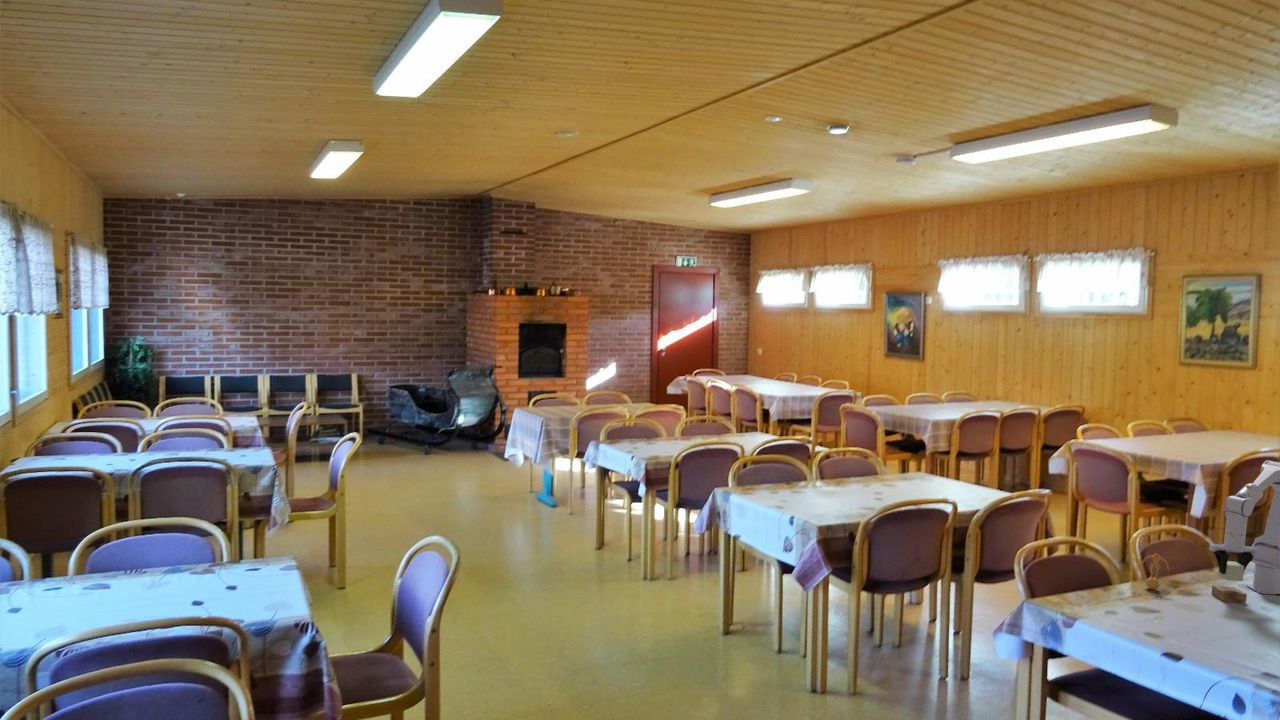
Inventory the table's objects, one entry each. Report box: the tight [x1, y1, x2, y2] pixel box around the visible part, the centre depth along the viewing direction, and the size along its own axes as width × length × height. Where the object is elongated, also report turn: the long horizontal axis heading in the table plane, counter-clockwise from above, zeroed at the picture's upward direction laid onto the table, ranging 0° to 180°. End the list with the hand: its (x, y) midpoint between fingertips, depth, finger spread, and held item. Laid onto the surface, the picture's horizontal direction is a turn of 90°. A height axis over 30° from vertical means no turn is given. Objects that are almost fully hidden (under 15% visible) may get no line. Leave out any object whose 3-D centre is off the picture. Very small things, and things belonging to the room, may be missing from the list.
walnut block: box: [1211, 585, 1248, 603], centre depth 300 cm, size 7×7×3 cm
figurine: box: [1140, 552, 1170, 591], centre depth 307 cm, size 8×6×12 cm
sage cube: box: [1217, 560, 1245, 582], centre depth 300 cm, size 5×5×5 cm
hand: (1231, 573), depth 300 cm, fingers closed on sage cube, 5 cm apart
